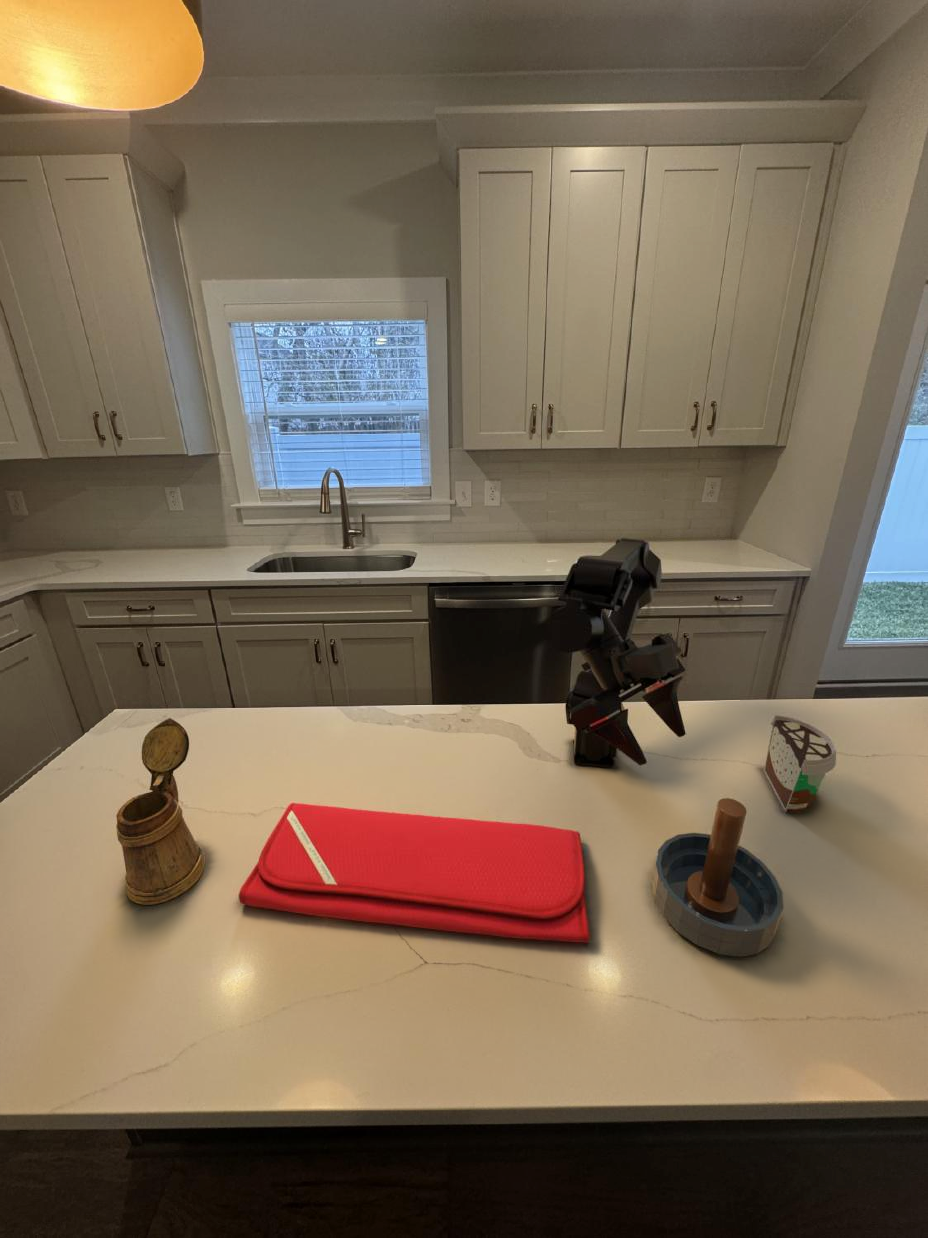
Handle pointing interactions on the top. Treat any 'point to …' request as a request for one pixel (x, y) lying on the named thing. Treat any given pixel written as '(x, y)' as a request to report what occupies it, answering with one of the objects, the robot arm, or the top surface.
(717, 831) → the stirring pestle
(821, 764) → the food container
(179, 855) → the wooden mug
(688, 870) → the bowl
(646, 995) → the top surface
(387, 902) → the red folding pouch
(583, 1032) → the top surface
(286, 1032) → the top surface
